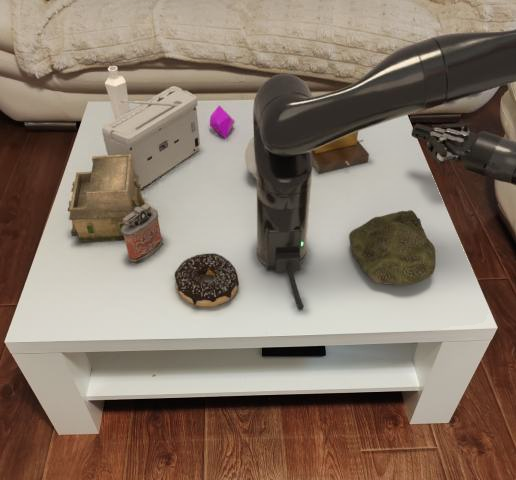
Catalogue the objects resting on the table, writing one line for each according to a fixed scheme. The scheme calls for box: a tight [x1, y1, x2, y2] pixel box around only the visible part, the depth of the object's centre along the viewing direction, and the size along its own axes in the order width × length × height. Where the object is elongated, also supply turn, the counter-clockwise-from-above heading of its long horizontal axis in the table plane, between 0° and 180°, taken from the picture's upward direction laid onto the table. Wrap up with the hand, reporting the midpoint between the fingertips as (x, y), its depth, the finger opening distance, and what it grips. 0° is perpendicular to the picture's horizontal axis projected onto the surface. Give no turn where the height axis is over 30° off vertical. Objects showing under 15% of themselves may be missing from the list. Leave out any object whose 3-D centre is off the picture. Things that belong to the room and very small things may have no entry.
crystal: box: [209, 105, 235, 139], centre depth 132 cm, size 5×5×5 cm
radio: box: [101, 85, 201, 190], centre depth 118 cm, size 21×8×20 cm, turn 141°
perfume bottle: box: [104, 65, 131, 119], centre depth 128 cm, size 5×4×15 cm
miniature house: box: [67, 154, 147, 244], centre depth 110 cm, size 15×14×11 cm
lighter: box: [121, 202, 164, 265], centre depth 105 cm, size 8×3×10 cm, turn 141°
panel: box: [310, 139, 370, 174], centre depth 127 cm, size 14×14×2 cm
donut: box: [174, 252, 240, 308], centre depth 102 cm, size 11×12×4 cm
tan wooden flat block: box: [313, 131, 359, 154], centre depth 123 cm, size 10×2×7 cm, turn 111°
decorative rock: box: [348, 209, 437, 286], centre depth 103 cm, size 15×16×10 cm
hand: (413, 129), depth 115 cm, fingers closed
